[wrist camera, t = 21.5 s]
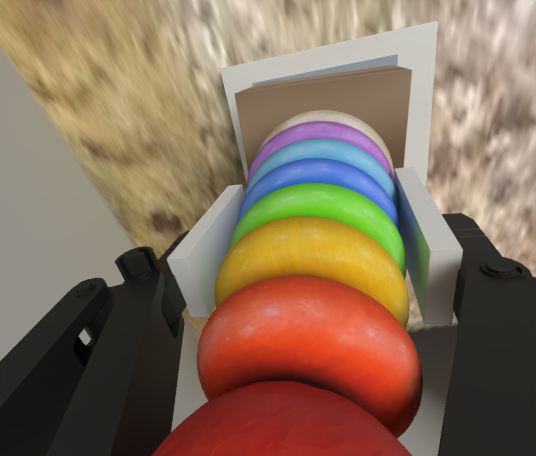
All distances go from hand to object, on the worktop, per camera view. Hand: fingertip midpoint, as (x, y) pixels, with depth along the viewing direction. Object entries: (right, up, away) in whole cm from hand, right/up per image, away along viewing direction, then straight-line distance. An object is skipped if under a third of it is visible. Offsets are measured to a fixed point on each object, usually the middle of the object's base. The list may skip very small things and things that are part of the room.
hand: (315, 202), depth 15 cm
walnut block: (+3, +6, +10) cm, 12 cm away
